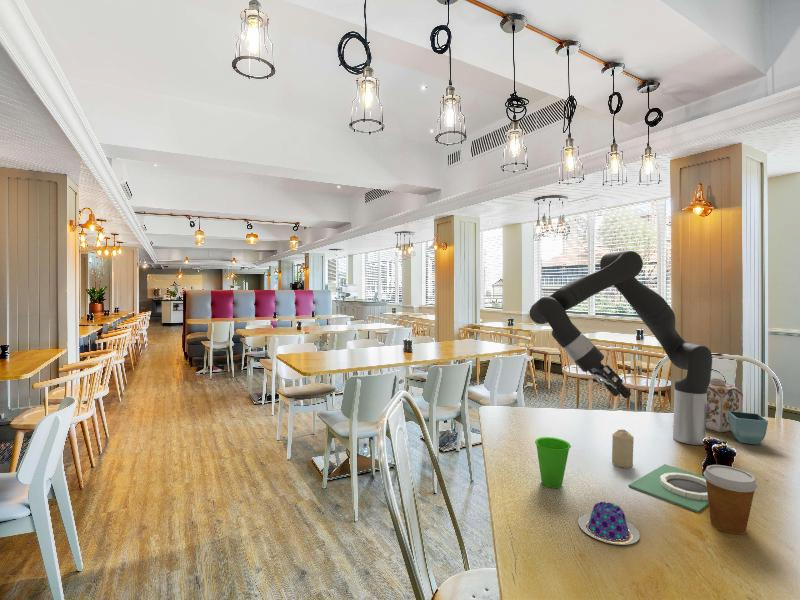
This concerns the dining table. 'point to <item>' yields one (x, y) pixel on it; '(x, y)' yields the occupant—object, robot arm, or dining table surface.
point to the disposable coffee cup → (729, 497)
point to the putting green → (675, 487)
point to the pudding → (608, 523)
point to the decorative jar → (721, 404)
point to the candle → (622, 449)
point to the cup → (552, 460)
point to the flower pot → (748, 427)
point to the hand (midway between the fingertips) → (623, 395)
